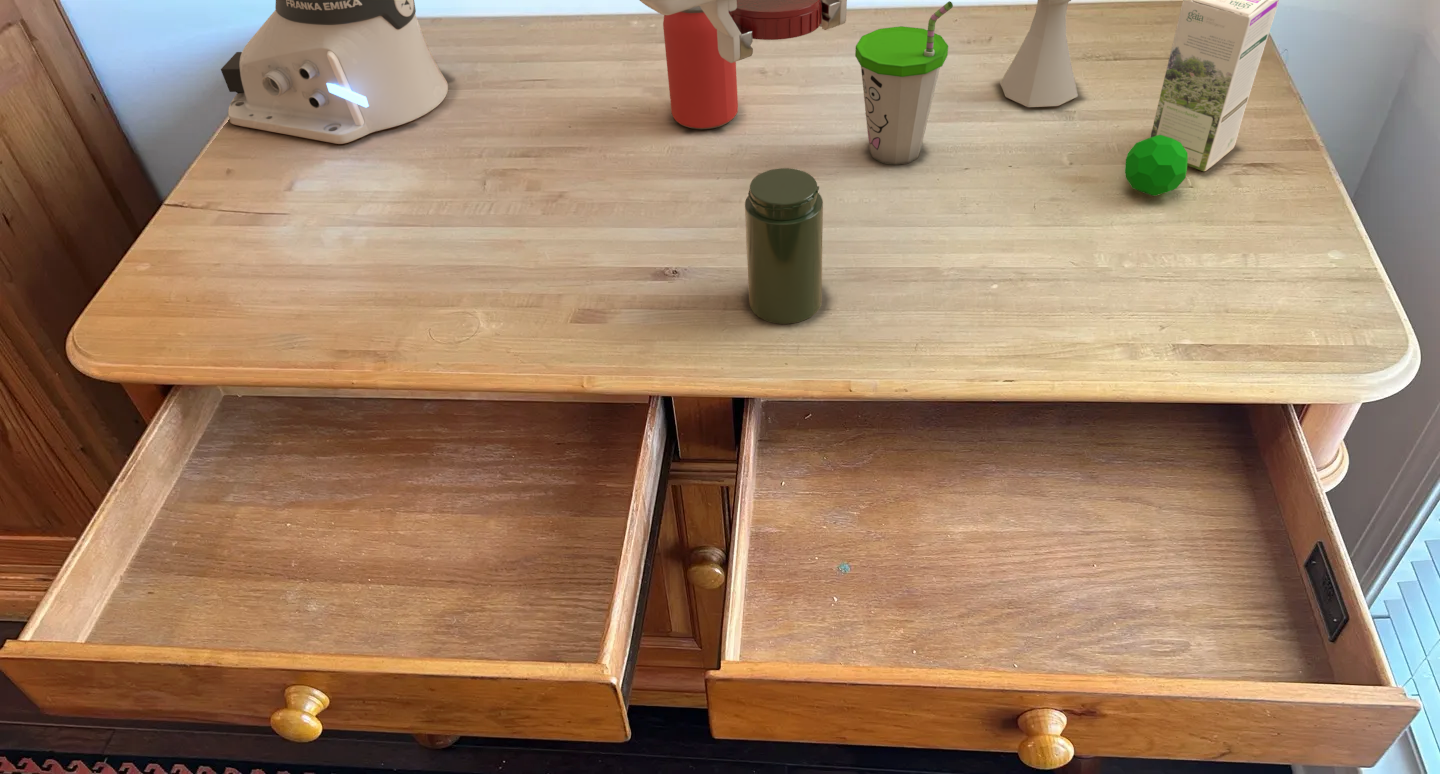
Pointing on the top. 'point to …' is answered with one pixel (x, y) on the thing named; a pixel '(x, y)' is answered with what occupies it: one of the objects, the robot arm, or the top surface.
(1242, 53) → the syrup box
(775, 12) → the lid
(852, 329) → the top surface
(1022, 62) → the flask
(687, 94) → the beer can
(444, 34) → the top surface
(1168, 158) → the polyhedron
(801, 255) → the jar
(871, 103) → the cup
